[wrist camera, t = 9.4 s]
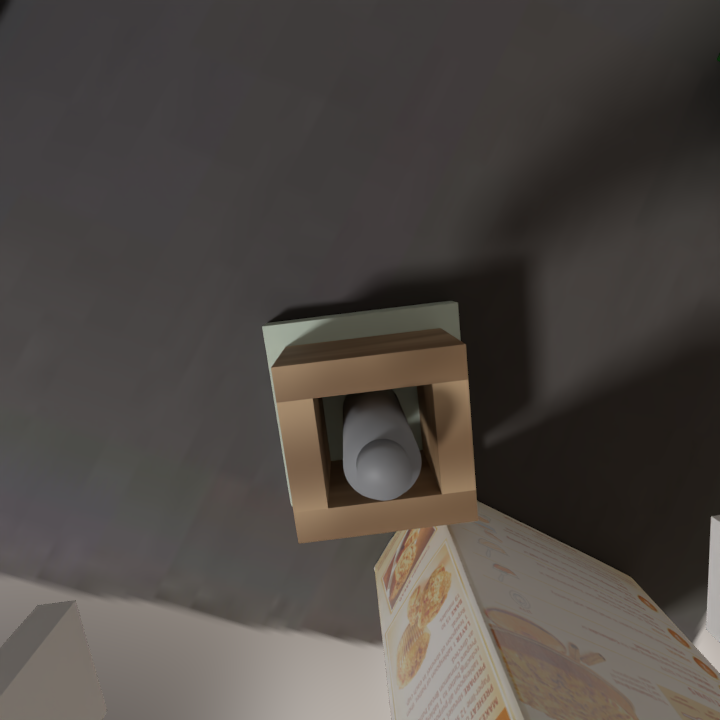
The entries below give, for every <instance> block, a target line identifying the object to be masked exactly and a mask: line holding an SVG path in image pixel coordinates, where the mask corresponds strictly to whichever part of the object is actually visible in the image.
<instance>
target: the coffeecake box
mask: <svg viewBox="0 0 720 720" xmlns="http://www.w3.org/2000/svg"><path fill="white" fill-rule="evenodd" d="M477 510H478V521H474V522H467V523H459V524H451V525H443V526H435V527H427V528H419V529H411V530H403V531H397V532H396V533H395V535H394V536H393V537H392V539H391V540H390V542H389V543H388V545H387V547H386V548H385V550H384V552H383V554H382V555H381V557H380V559H379V560H378V562H377V563H376V565H375V567H374V571H375V575H376V584H377V593H378V603H379V612H380V621H381V630H382V639H383V648H384V656H385V665H386V674H387V684H388V693H389V704H390V712H391V720H720V673H719V672H718V671H717V670H716V669H715V668H714V667H713V666H712V665H711V663H710V662H709V661H708V660H707V659H706V658H705V657H704V656H703V655H702V654H701V653H700V651H699V650H698V649H697V648H696V647H695V646H694V645H693V644H692V643H691V642H690V641H689V639H688V638H687V637H686V636H685V635H684V634H683V633H682V632H681V631H680V630H679V629H678V628H677V626H676V625H675V624H674V623H673V622H672V621H671V620H670V619H669V618H668V617H667V616H666V614H665V613H664V612H663V611H662V610H661V609H660V608H659V607H658V606H657V605H656V603H655V602H654V601H653V600H652V599H651V598H650V597H649V596H648V595H647V594H646V593H645V592H644V590H643V589H642V588H641V587H640V586H639V585H638V584H637V583H636V582H635V581H634V580H633V578H631V577H630V576H628V575H626V574H624V573H622V572H620V571H618V570H616V569H615V568H613V567H611V566H609V565H607V564H605V563H603V562H601V561H599V560H597V559H595V558H593V557H591V556H589V555H587V554H585V553H583V552H581V551H579V550H577V549H575V548H572V547H570V546H568V545H566V544H564V543H562V542H560V541H558V540H556V539H554V538H552V537H550V536H548V535H546V534H544V533H542V532H540V531H538V530H536V529H534V528H532V527H530V526H528V525H526V524H524V523H522V522H519V521H517V520H515V519H513V518H511V517H509V516H507V515H505V514H503V513H501V512H499V511H497V510H495V509H493V508H491V507H489V506H487V505H485V504H483V503H481V502H479V501H477Z"/></svg>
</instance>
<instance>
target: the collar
mask: <svg viewBox="0 0 720 720" xmlns="http://www.w3.org/2000/svg"><path fill="white" fill-rule="evenodd" d="M271 372H272V378H273V384H274V391H275V397H276V403H277V410H278V416H279V422H280V429H281V435H282V441H283V448H284V454H285V460H286V466H287V473H288V479H289V485H290V492H291V498H292V504H293V511H294V517H295V523H296V530H297V536H298V542H299V543H307V542H315V541H323V540H331V539H339V538H347V537H355V536H363V535H371V534H379V533H387V532H395V531H403V530H411V529H419V528H427V527H435V526H443V525H451V524H459V523H467V522H474V521H478V510H477V496H476V482H475V467H474V453H473V439H472V425H471V411H470V396H469V382H468V368H467V354H466V344H465V343H463V342H462V341H460V340H459V339H457V338H455V337H454V336H452V335H451V334H449V333H448V332H446V331H444V330H443V329H441V328H436V329H428V330H420V331H411V332H403V333H395V334H386V335H378V336H370V337H361V338H353V339H345V340H337V341H328V342H320V343H312V344H303V345H295V346H287V347H285V348H284V350H283V351H282V352H281V354H280V355H279V357H278V358H277V360H276V361H275V362H274V364H273V365H272V367H271ZM412 386H417V394H418V405H419V415H420V426H421V437H422V447H423V450H419V451H420V454H421V463H422V464H421V470H420V474H419V476H418V478H417V480H416V482H415V483H414V484H413V486H412V487H411V488H410V489H409V490H407V491H406V492H405V493H403V494H402V495H401V496H399V497H397V498H395V499H392V500H387V501H381V500H376V499H371V498H368V497H365V496H363V495H361V494H360V493H358V492H357V491H356V490H354V489H353V487H352V486H351V485H350V484H349V482H348V481H347V479H346V476H345V473H344V469H343V460H336V461H331V458H330V451H329V443H328V436H327V429H326V421H325V414H324V407H323V400H322V397H329V396H338V395H346V394H354V393H362V392H370V391H379V390H387V389H395V388H403V387H412Z"/></svg>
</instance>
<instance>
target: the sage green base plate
mask: <svg viewBox="0 0 720 720" xmlns="http://www.w3.org/2000/svg"><path fill="white" fill-rule="evenodd" d="M262 328H263V334H264V341H265V347H266V353H267V359H268V365H269V372H270V378H271V384H272V390H273V396H274V403H275V409H276V415H277V421H278V427H279V434H280V440H281V446H282V452H283V458H284V465H285V471H286V477H287V483H288V489H289V495H290V502H291V506H293V504H292V498H291V492H290V485H289V479H288V473H287V466H286V460H285V454H284V448H283V441H282V435H281V429H280V422H279V416H278V410H277V403H276V397H275V391H274V384H273V378H272V372H271V367H272V365H273V364H274V362H275V361H276V360H277V358H278V357H279V355H280V354H281V352H282V351H283V350H284V348H285V347H287V346H295V345H303V344H312V343H320V342H328V341H337V340H345V339H353V338H361V337H370V336H378V335H386V334H395V333H403V332H411V331H420V330H428V329H436V328H441V329H443V330H444V331H446V332H448V333H449V334H451V335H452V336H454V337H455V338H457V339H459V340H460V341H461V338H460V324H459V311H458V303H457V302H454V301H443V302H435V303H427V304H419V305H411V306H402V307H394V308H386V309H378V310H369V311H361V312H353V313H345V314H336V315H328V316H320V317H312V318H304V319H295V320H287V321H279V322H271V323H266V324H265V325H264V326H262ZM322 400H323V407H324V414H325V421H326V429H327V436H328V443H329V451H330V458H331V461H336V460H343V469H344V473H345V476H346V479H347V481H348V482H349V484H350V485H351V486H352V487H353V489H354V490H356V491H357V492H358V493H360V494H361V495H363V496H365V497H368V498H371V499H376V500H381V501H387V500H392V499H395V498H397V497H399V496H401V495H402V494H403V493H405V492H406V491H407V490H409V489H410V488H411V487H412V486H413V484H414V483H415V482H416V480H417V478H418V476H419V474H420V470H421V464H422V463H421V454H420V451H419V450H423V447H422V437H421V426H420V415H419V405H418V394H417V386H412V387H403V388H395V389H387V390H379V391H370V392H362V393H354V394H346V395H338V396H329V397H322Z"/></svg>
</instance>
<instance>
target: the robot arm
mask: <svg viewBox="0 0 720 720" xmlns="http://www.w3.org/2000/svg"><path fill="white" fill-rule="evenodd" d="M706 630H707V631H708V632H709V633H710V634H711V635H712V636H713V637H714V638H715V639H716V640H717V641H718V642H720V515H716V516H711V529H710V552H709V575H708V598H707V621H706ZM106 712H107V708H106V705H105V701H104V698H103V694H102V691H101V687H100V684H99V680H98V677H97V674H96V670H95V666H94V663H93V659H92V656H91V653H90V650H89V645H88V642H87V639H86V635H85V632H84V628H83V625H82V621H81V618H80V614H79V611H78V607H77V604H76V600H75V601H67V602H59V603H52V604H44V605H38V606H37V607H36V608H35V609H34V610H33V612H32V613H31V614H30V615H29V616H28V617H27V618H26V619H25V620H24V622H23V623H22V624H21V625H20V626H19V627H18V628H17V629H16V631H15V632H14V633H13V634H12V635H11V636H10V637H9V639H8V640H7V641H6V642H5V643H4V644H3V645H2V647H1V648H0V720H103V718H104V716H105V714H106Z"/></svg>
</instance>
